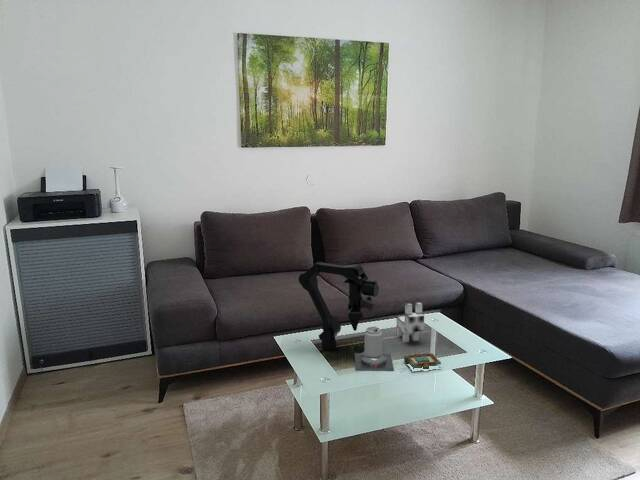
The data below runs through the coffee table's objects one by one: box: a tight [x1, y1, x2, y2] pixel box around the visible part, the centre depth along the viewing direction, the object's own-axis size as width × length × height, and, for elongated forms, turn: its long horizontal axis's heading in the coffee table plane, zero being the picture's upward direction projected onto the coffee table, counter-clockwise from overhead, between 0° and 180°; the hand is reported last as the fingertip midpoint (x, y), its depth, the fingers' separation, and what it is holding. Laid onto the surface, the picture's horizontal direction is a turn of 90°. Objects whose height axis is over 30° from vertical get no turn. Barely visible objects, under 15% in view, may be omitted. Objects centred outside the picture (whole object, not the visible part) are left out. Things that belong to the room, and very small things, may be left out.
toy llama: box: [396, 301, 425, 344], centre depth 234 cm, size 8×18×20 cm, turn 13°
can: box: [363, 326, 383, 358], centre depth 210 cm, size 8×8×12 cm
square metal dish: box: [354, 350, 395, 372], centre depth 211 cm, size 16×15×4 cm
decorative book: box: [403, 352, 442, 369], centre depth 206 cm, size 13×18×5 cm
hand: (354, 326), depth 218 cm, fingers open, 9 cm apart
